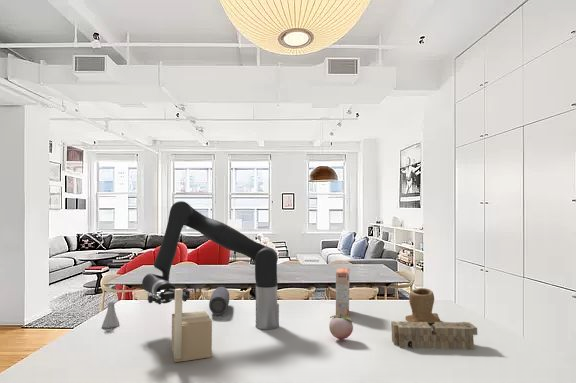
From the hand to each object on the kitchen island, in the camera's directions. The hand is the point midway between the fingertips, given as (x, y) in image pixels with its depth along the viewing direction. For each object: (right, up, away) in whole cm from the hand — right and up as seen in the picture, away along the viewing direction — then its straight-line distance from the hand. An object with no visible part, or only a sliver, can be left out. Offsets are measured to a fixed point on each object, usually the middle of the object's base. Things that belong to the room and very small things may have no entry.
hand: (173, 299), depth 135 cm
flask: (-36, -20, +33) cm, 53 cm away
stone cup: (+100, -21, +37) cm, 108 cm away
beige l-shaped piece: (+8, -19, -5) cm, 21 cm away
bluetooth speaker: (+6, -21, +57) cm, 62 cm away
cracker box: (+66, -21, +51) cm, 86 cm away
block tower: (+94, -20, +10) cm, 96 cm away
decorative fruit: (+60, -20, +15) cm, 65 cm away
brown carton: (+5, -19, +3) cm, 20 cm away
